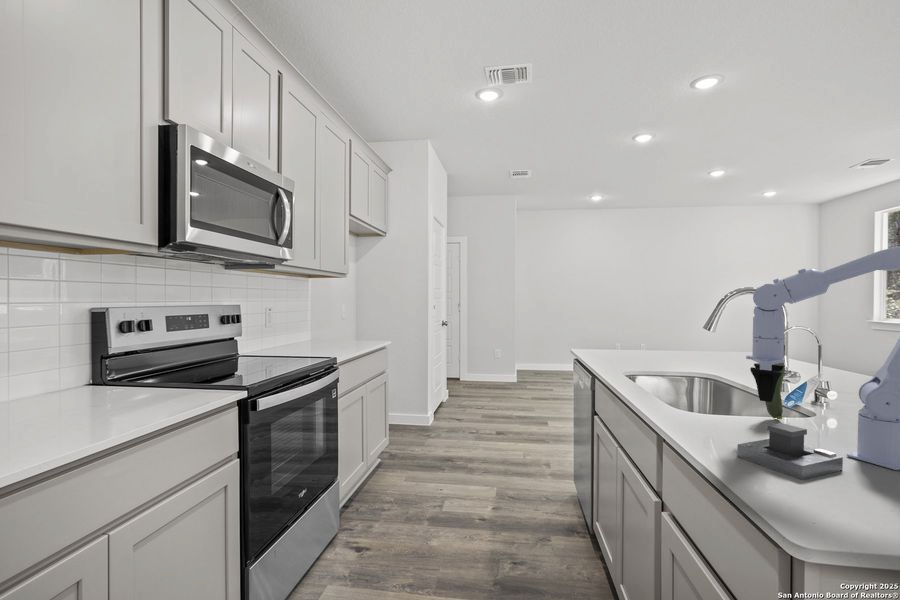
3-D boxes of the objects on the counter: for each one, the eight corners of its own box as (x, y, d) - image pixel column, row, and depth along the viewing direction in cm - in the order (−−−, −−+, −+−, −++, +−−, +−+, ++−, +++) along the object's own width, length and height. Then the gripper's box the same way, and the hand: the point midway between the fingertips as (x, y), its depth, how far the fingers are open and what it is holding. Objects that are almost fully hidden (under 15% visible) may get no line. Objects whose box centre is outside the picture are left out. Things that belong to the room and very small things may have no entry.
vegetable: (764, 420, 116) (766, 344, 116) (762, 416, 120) (763, 343, 120) (785, 422, 114) (787, 345, 114) (782, 418, 118) (783, 344, 118)
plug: (781, 456, 90) (781, 422, 90) (806, 464, 86) (806, 429, 86) (766, 459, 89) (767, 425, 89) (791, 468, 84) (792, 432, 84)
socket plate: (775, 449, 95) (776, 435, 95) (842, 470, 84) (842, 454, 83) (737, 456, 90) (737, 441, 90) (802, 479, 79) (802, 463, 79)
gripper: (749, 334, 107) (748, 389, 107) (743, 339, 96) (742, 401, 96) (785, 336, 103) (784, 394, 103) (784, 341, 91) (782, 406, 92)
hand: (766, 397), depth 99 cm, fingers open, 7 cm apart
